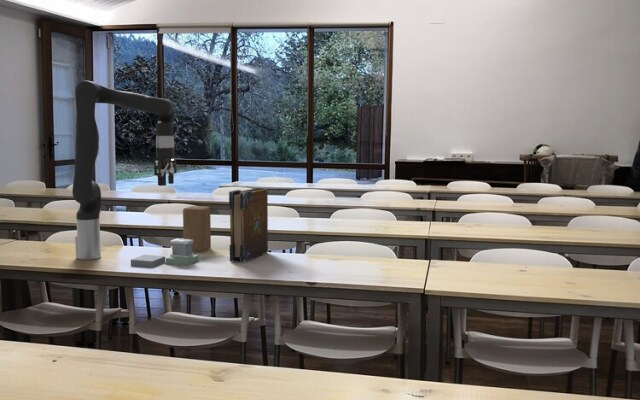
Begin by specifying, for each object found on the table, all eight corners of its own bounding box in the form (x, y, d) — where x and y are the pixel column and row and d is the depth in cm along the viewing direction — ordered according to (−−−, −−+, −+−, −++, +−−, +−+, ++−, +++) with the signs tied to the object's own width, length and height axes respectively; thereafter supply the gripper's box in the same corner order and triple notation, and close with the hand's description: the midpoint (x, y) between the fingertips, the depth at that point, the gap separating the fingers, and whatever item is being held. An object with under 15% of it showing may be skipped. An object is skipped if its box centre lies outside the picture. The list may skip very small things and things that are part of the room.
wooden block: (203, 252, 273) (202, 209, 270) (182, 251, 275) (182, 208, 272) (211, 248, 283) (211, 206, 280) (191, 247, 285) (191, 205, 282)
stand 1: (130, 265, 246) (130, 259, 246) (144, 260, 256) (144, 254, 256) (152, 267, 244) (152, 261, 243) (165, 262, 253) (165, 256, 253)
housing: (170, 257, 252) (170, 240, 251) (176, 254, 256) (176, 238, 256) (187, 258, 249) (187, 241, 249) (193, 255, 254) (193, 239, 253)
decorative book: (244, 263, 253) (243, 192, 249) (229, 261, 256) (228, 191, 252) (270, 252, 274) (270, 187, 271) (256, 251, 277) (256, 186, 274)
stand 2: (165, 264, 250) (165, 258, 249) (177, 259, 259) (177, 253, 259) (187, 265, 247) (187, 259, 247) (198, 260, 257) (198, 254, 256)
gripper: (165, 146, 263) (166, 182, 265) (148, 146, 249) (149, 185, 251) (181, 146, 261) (182, 183, 263) (164, 147, 247) (165, 186, 249)
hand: (165, 184), depth 257 cm, fingers open, 8 cm apart
